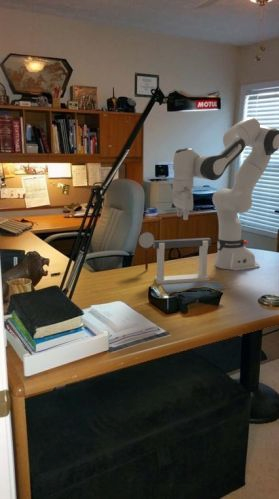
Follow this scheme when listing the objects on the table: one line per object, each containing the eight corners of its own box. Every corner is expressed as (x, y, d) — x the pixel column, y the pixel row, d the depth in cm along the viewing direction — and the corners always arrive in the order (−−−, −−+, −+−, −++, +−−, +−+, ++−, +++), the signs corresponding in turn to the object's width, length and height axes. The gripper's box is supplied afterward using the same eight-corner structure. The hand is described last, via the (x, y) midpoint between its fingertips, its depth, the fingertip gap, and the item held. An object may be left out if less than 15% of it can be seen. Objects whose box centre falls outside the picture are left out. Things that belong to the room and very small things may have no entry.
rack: (204, 276, 190) (205, 238, 186) (208, 280, 185) (210, 241, 180) (154, 279, 186) (154, 240, 182) (157, 283, 181) (157, 243, 176)
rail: (208, 244, 185) (208, 237, 185) (210, 245, 182) (211, 239, 182) (153, 247, 181) (153, 240, 180) (154, 248, 178) (154, 242, 177)
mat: (217, 282, 182) (217, 280, 182) (225, 289, 173) (225, 288, 173) (161, 285, 178) (161, 284, 178) (166, 293, 168) (166, 292, 168)
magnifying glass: (154, 269, 202) (154, 230, 198) (155, 270, 201) (155, 231, 196) (137, 271, 201) (137, 231, 196) (138, 271, 199) (138, 232, 194)
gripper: (197, 188, 166) (196, 221, 169) (183, 184, 186) (183, 214, 189) (182, 188, 165) (181, 222, 168) (170, 184, 184) (169, 214, 188)
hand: (182, 218), depth 179 cm, fingers open, 8 cm apart
